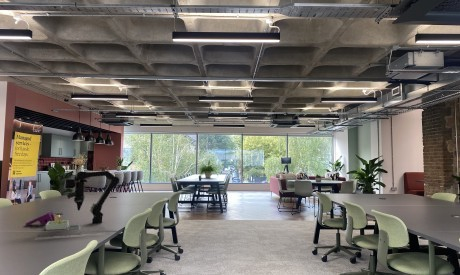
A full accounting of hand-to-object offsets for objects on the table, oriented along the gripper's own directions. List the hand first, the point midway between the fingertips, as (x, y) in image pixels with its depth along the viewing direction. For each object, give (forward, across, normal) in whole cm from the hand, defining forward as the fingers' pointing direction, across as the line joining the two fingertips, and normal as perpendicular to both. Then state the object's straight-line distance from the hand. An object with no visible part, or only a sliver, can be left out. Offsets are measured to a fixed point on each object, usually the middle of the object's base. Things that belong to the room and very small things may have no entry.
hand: (79, 209), depth 236 cm
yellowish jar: (+12, +6, -13) cm, 18 cm away
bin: (+12, +6, -13) cm, 19 cm away
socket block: (+12, +13, -2) cm, 18 cm away
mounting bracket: (+13, -16, -27) cm, 35 cm away
